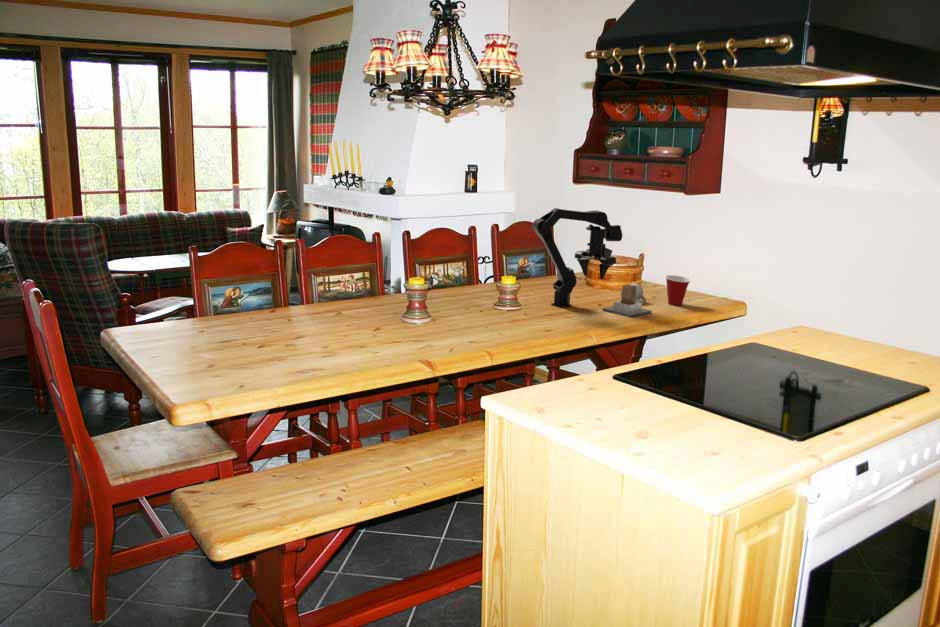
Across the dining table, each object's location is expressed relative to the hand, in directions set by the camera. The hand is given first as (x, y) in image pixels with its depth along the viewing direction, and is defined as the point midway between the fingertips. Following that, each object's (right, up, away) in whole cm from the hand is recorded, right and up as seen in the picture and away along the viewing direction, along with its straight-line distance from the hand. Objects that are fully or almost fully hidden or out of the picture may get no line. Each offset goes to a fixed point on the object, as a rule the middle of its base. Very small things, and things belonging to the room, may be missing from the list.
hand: (593, 277), depth 326 cm
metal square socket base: (+13, -14, -8) cm, 21 cm away
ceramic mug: (+20, -10, +12) cm, 25 cm away
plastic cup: (+37, -11, +9) cm, 40 cm away
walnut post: (+13, -14, -8) cm, 20 cm away
